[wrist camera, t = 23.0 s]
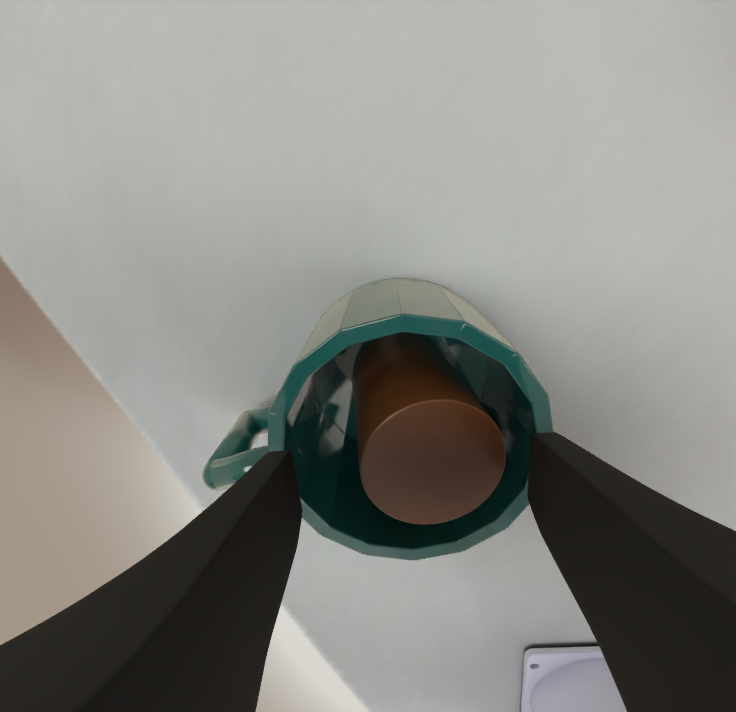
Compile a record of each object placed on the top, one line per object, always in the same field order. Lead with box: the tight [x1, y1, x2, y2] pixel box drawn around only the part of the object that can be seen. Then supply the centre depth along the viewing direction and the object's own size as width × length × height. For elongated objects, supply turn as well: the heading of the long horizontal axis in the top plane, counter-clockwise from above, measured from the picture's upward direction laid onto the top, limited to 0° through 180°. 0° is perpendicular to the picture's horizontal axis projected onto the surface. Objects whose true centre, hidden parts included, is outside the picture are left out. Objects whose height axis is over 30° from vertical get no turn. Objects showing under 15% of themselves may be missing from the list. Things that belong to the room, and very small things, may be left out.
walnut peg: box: [352, 333, 506, 524], centre depth 13 cm, size 4×4×6 cm
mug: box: [202, 278, 553, 560], centre depth 14 cm, size 11×8×6 cm
